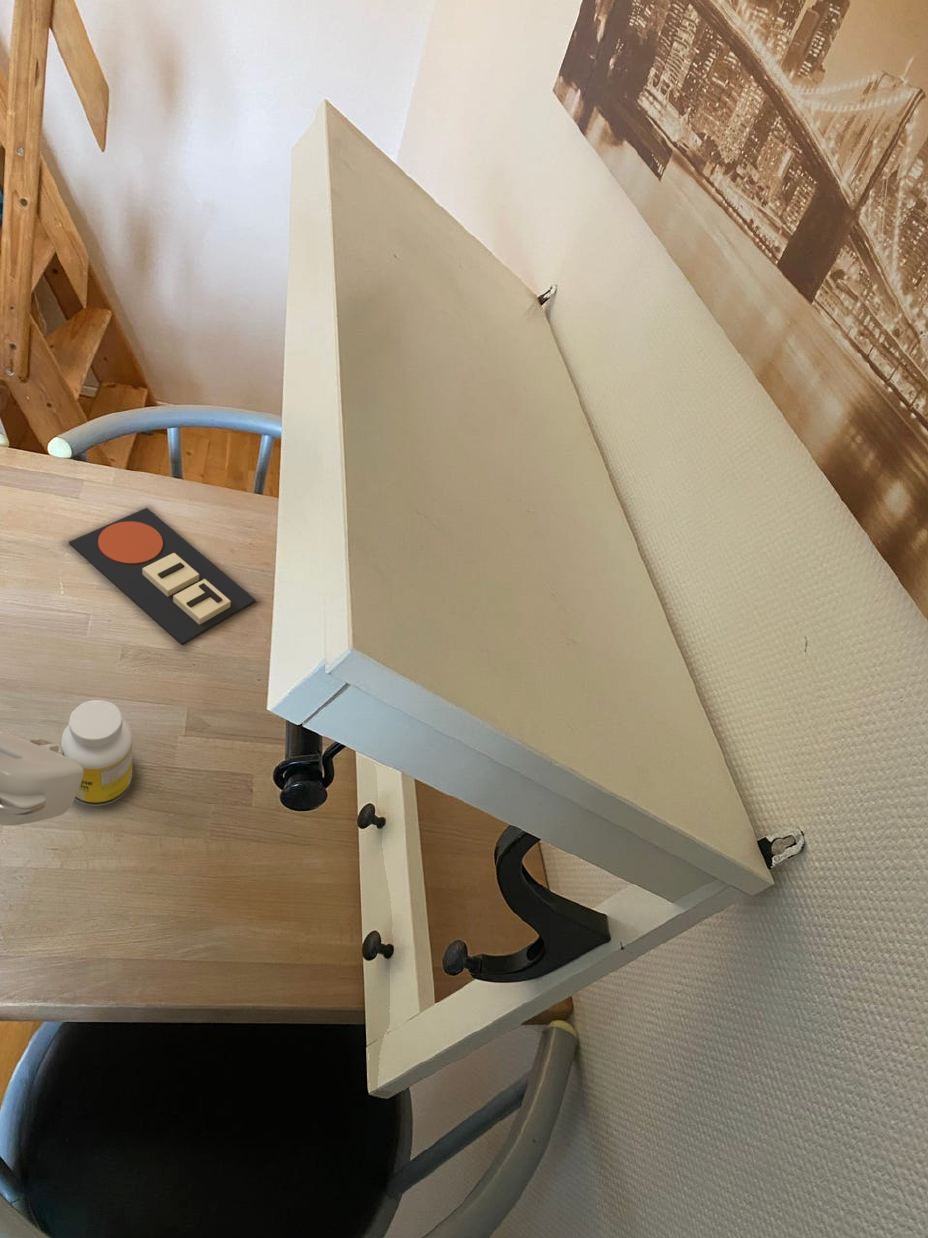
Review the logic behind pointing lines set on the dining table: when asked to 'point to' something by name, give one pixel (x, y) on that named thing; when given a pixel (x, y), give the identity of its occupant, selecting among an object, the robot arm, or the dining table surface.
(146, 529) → the letter mat
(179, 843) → the dining table surface
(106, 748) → the pill bottle
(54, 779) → the robot arm
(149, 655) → the dining table surface
